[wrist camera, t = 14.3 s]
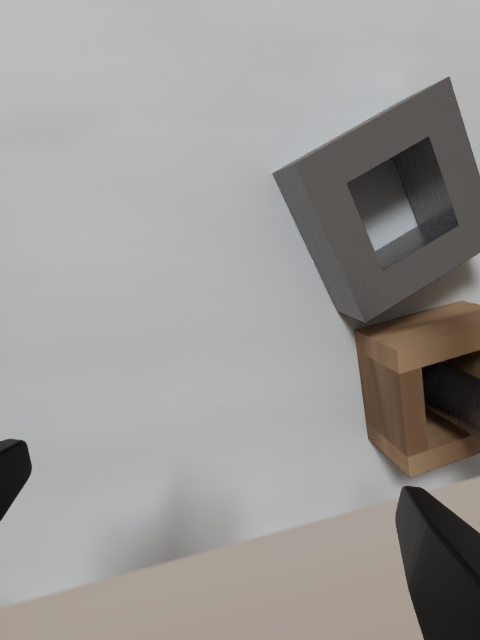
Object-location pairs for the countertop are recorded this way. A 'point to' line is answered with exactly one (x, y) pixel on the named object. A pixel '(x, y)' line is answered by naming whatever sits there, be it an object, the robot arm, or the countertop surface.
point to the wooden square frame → (416, 384)
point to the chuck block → (421, 188)
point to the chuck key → (453, 395)
